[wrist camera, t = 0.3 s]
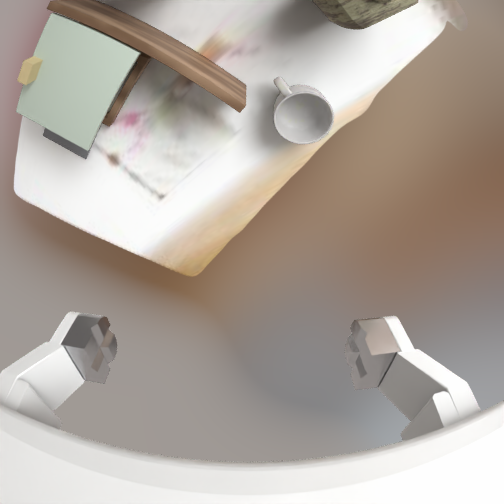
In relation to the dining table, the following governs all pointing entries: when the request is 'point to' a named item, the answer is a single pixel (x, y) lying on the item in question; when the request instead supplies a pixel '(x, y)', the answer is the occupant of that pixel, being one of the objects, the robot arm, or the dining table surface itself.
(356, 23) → the grey handled block
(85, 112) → the slide cover
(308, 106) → the teacup
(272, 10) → the dining table surface
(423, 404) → the robot arm
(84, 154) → the rubber mat
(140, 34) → the small wooden cabinet
